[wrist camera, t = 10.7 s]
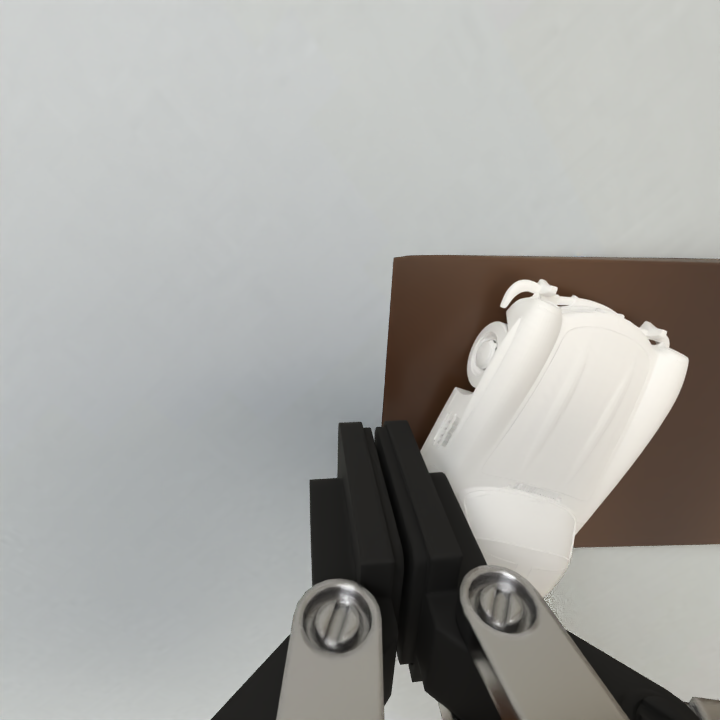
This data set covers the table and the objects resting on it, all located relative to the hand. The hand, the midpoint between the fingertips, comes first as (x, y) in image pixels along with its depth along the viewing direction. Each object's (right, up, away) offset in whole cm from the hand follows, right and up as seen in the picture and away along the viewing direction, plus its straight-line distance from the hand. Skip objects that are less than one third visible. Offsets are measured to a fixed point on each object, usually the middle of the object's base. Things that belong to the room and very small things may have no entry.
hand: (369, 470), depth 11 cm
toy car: (+3, -1, +3) cm, 4 cm away
